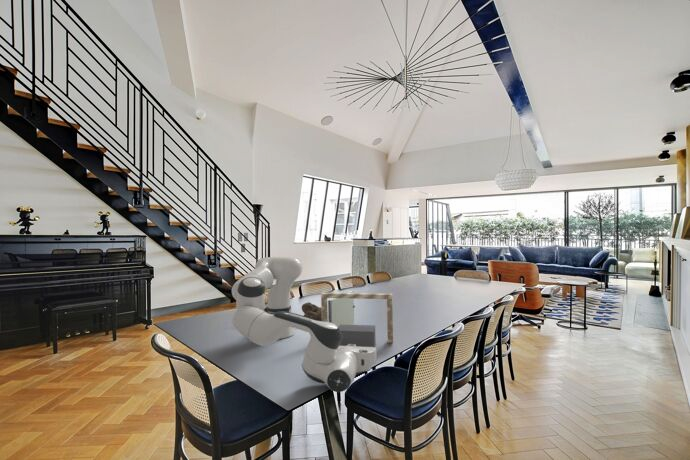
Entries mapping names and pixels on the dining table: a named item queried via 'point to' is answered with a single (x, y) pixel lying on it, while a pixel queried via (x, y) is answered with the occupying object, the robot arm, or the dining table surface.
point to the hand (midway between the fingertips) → (352, 345)
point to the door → (341, 310)
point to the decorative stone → (312, 311)
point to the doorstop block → (358, 335)
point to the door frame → (361, 296)
